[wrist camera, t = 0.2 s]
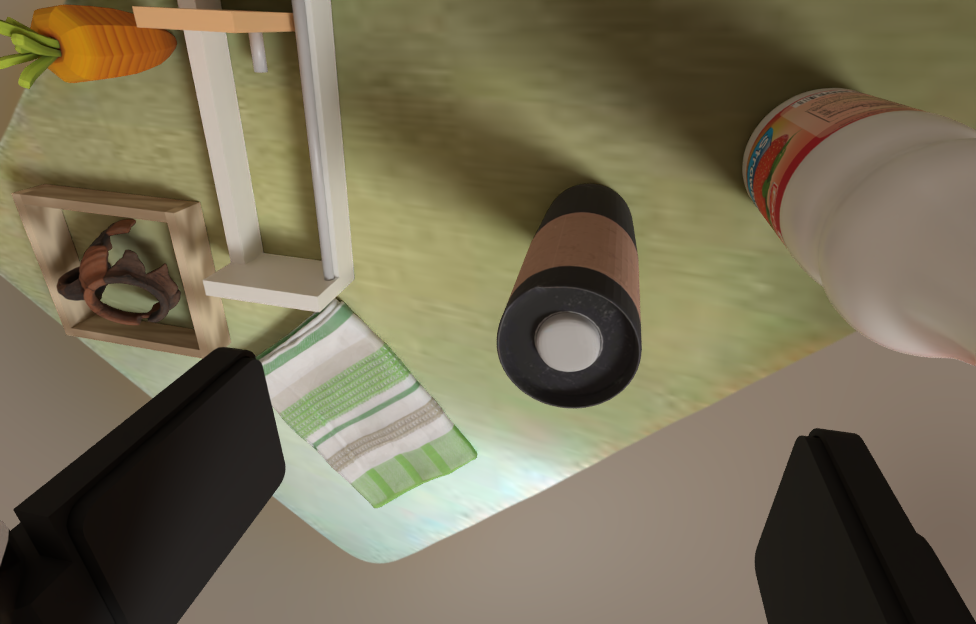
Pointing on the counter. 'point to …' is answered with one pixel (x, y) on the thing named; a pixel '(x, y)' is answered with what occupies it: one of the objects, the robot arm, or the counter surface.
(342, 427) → the dish towel
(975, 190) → the fruit juice
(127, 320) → the pottery mug
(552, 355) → the travel mug
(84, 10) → the carrot
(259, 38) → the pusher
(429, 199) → the counter surface
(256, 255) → the frame
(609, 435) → the counter surface
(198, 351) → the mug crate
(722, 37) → the counter surface
